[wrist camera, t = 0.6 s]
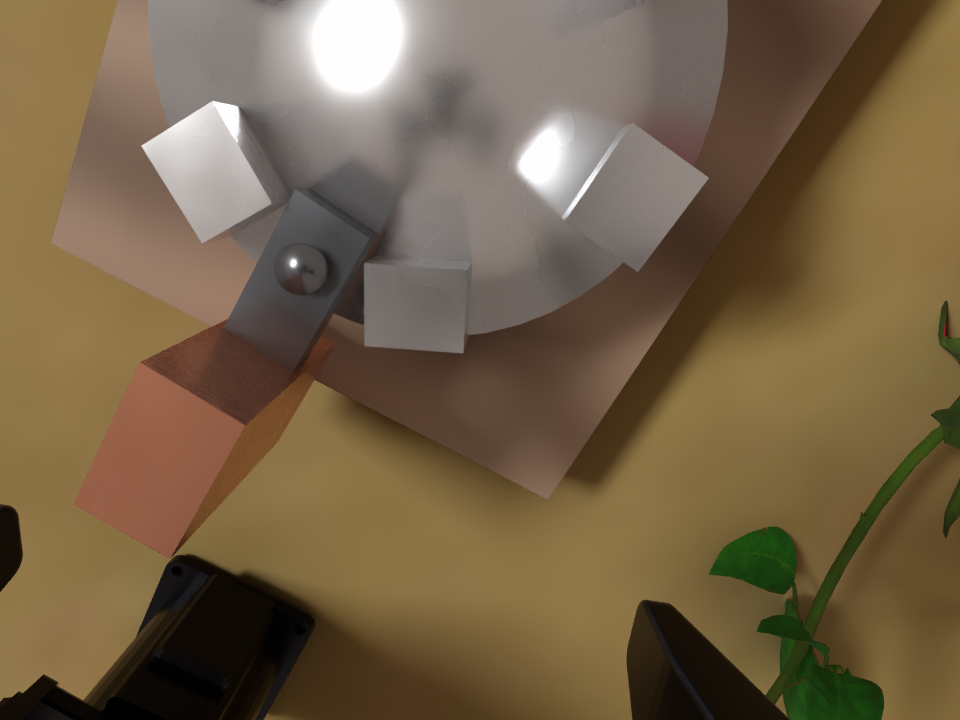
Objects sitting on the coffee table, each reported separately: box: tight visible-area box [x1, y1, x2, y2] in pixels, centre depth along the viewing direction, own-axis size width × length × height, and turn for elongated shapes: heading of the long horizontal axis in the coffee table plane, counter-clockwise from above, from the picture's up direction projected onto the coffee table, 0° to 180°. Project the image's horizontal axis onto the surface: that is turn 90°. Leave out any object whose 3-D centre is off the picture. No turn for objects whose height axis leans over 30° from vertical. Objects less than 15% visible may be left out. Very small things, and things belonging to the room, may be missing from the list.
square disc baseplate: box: [51, 0, 882, 500], centre depth 17 cm, size 20×18×2 cm
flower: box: [709, 301, 960, 720], centre depth 18 cm, size 9×10×30 cm
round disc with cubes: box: [73, 0, 728, 559], centre depth 14 cm, size 18×13×7 cm
